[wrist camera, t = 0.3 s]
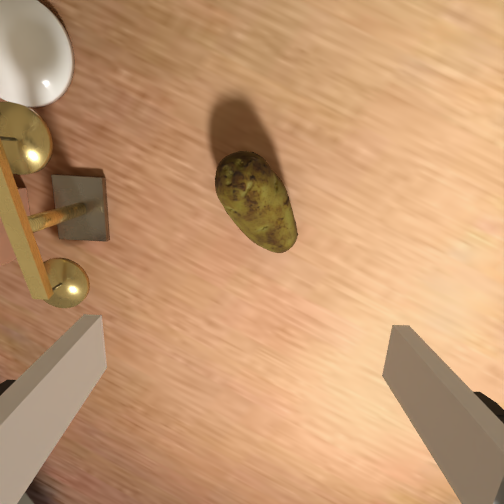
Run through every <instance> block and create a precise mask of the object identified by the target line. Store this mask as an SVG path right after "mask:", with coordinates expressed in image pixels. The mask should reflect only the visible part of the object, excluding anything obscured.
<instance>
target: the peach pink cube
mask: <svg viewBox="0 0 504 504" xmlns="http://www.w3.org/2000/svg"><path fill="white" fill-rule="evenodd" d="M17 188H18V187H17ZM18 191H19V194H20V197H21V200H22V203H23V206H24V209H25V212H26V214H27V216H30V211H29V204H28V197H27V190H26V188H18ZM15 259H17V258H16V255H15V253H14V250H13V248H12V245H11V243H10V240H9V238H8V235H7V233H6V230H5V228H4V225H3V222H2V220H1V217H0V266H2V265H4V264H6V263H8V262H11V261H13V260H15Z"/></svg>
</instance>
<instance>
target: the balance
mask: <svg viewBox="0 0 504 504" xmlns="http://www.w3.org/2000/svg"><path fill="white" fill-rule="evenodd" d="M52 151H53V141H52V136H51V133H50V130H49V128H48V126H47V125H46V123H45V122H44V120H43V119H42V118H41V117H40V116H39V115H38V114H37V113H36V112H35V111H33V110H32V109H30V108H28V107H26V106H24V105H21V104H17V103H13V102H0V217H1V220H2V222H3V225H4V228H5V230H6V233H7V235H8V238H9V240H10V243H11V245H12V248H13V250H14V253H15V255H16V258H17V260H18V263H19V266H20V268H21V271H22V273H23V276H24V278H25V281H26V283H27V286H28V288H29V291H30V293H31V296H32V298H33V299H43V300H44V301H45V302H47V303H48V304H50V305H52V306H55V307H59V308H70V307H74V306H76V305H78V304H79V303H81V302H82V301H83V300H84V299H85V298H86V296H87V295H88V293H89V288H90V283H89V279H88V276H87V274H86V272H85V271H84V270H83V268H82V267H81V266H80V265H78V264H77V263H75V262H74V261H72V260H69V259H66V258H52V259H49V260H47V261H45V262H43V261H42V258H41V255H40V252H39V249H38V246H37V243H36V241H35V238H34V235H33V232H36V231H39V230H42V229H45V228H48V227H51V226H53V225H56V224H57V226H58V235H59V239H70V240H89V241H108V240H110V236H109V222H108V208H107V194H106V180H105V177H91V176H74V175H58V174H55V175H51V176H52V184H53V193H54V201H55V209H53V210H49V211H45V212H41V213H38V214H34V215H30V216H27V214H26V212H25V209H24V206H23V203H22V200H21V197H20V194H19V191H18V188H17V185H16V183H15V180H14V177H13V174H19V175H23V174H32V173H36V172H38V171H40V170H41V169H43V168H44V167H45V166H46V165H47V163H48V162H49V160H50V158H51V155H52Z"/></svg>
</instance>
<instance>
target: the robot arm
mask: <svg viewBox="0 0 504 504" xmlns="http://www.w3.org/2000/svg"><path fill="white" fill-rule="evenodd" d="M106 368H107V364H106V354H105V344H104V334H103V324H102V315H86V314H84V315H83V316H82V317H81V318H80V319H79V320H78V321H77V322H76V323H75V324H74V325H73V326H72V327H71V328H70V329H69V330H67V331H66V332H65V333H64V334H63V335H62V336H61V337H60V338H59V339H58V340H57V341H56V342H55V343H54V344H53V345H52V346H51V347H50V348H49V349H48V350H47V351H46V352H45V353H44V354H43V355H42V356H41V357H40V358H39V359H38V360H37V361H36V362H35V363H34V364H32V365H31V366H30V367H29V368H28V369H27V370H26V371H25V372H24V373H23V374H22V375H21V376H20V377H19V378H18V379H17V380H6V381H4V382H3V383H1V384H0V504H17V503H18V501H19V500H20V498H21V497H22V495H23V494H24V492H25V491H26V489H27V488H28V486H29V485H30V483H31V482H32V480H33V479H34V477H35V476H36V474H37V473H38V471H39V470H40V468H41V467H42V465H43V464H44V462H45V461H46V459H47V458H48V456H49V455H50V453H51V451H52V450H53V448H54V447H55V445H56V444H57V442H58V441H59V439H60V438H61V436H62V435H63V433H64V432H65V430H66V429H67V427H68V426H69V424H70V423H71V421H72V420H73V418H74V417H75V415H76V414H77V412H78V411H79V409H80V408H81V406H82V405H83V403H84V402H85V400H86V399H87V397H88V396H89V394H90V393H91V391H92V389H93V388H94V386H95V385H96V383H97V382H98V380H99V379H100V377H101V376H102V374H103V373H104V371H105V370H106ZM382 376H383V378H384V379H385V381H386V382H387V384H388V386H389V387H390V389H391V391H392V392H393V394H394V395H395V397H396V399H397V400H398V402H399V403H400V405H401V407H402V408H403V410H404V411H405V413H406V415H407V416H408V418H409V419H410V421H411V423H412V424H413V426H414V428H415V429H416V431H417V432H418V434H419V436H420V437H421V439H422V440H423V442H424V444H425V445H426V447H427V448H428V450H429V452H430V453H431V455H432V456H433V458H434V460H435V461H436V463H437V465H438V466H439V468H440V469H441V471H442V473H443V474H444V476H445V477H446V479H447V481H448V482H449V484H450V485H451V487H452V489H453V490H454V492H455V494H456V495H457V497H458V498H459V500H460V502H461V503H462V504H504V410H503V409H502V408H501V407H500V406H499V405H498V404H497V403H496V402H494V401H493V400H491V399H490V398H488V397H487V396H485V395H484V394H482V393H481V392H473V391H472V390H471V389H470V388H469V387H468V386H467V385H466V384H465V383H464V382H463V381H462V380H461V379H460V378H459V377H458V376H457V375H456V374H455V373H454V372H453V371H452V370H451V369H450V368H449V367H448V366H447V364H446V363H445V362H444V361H443V360H442V359H441V358H440V357H439V356H438V355H437V354H436V353H435V352H434V351H433V350H432V349H431V348H430V347H429V346H428V345H427V344H426V343H425V342H424V341H423V340H422V339H421V338H420V336H419V335H418V334H417V333H416V332H415V331H414V330H413V329H412V328H411V327H410V326H406V325H392V330H391V335H390V340H389V345H388V350H387V355H386V360H385V365H384V370H383V375H382Z"/></svg>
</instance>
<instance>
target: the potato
mask: <svg viewBox="0 0 504 504" xmlns="http://www.w3.org/2000/svg"><path fill="white" fill-rule="evenodd" d="M215 187H216V193H217V196H218V198H219V200H220V201H221V203H222V205H223V206H224V208H225V210H226V212H227V214H228V215H229V216H230V217H231V218H232V220H233V221H234V222H235V224H236V225H237V226H238V227H239V229H240V230H241V231H242V232H243V233H244V234H245V235H246V236H247V237H248V238H249V239H250V240H251V241H253V242H254V243H256V244H257V245H259V246H261V247H263V248H265V249H267V250H269V251H272V252H276V253H283V252H286V251H287V250H289V249H290V248H291V247H292V246H293V245H294V243H295V242H296V239H297V236H298V233H297V227H296V222H295V219H294V215H293V211H292V207H291V204H290V201H289V197H288V195H287V191H286V189H285V187H284V185H283V183H282V181H281V180H280V178H279V177H278V176H277V175H276V174H275V173H274V172H273V171H272V169H271V168H270V166H269V165H268V164H267V162H266V161H265V160H264V159H263V158H262V157H261V156H259V155H258V154H256V153H254V152H247V151H240V152H236V153H233V154H230V155H228V156H227V157H225V158H224V159H223V160H222V161H221V162H220V164H219V166H218V168H217V171H216V176H215Z"/></svg>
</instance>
